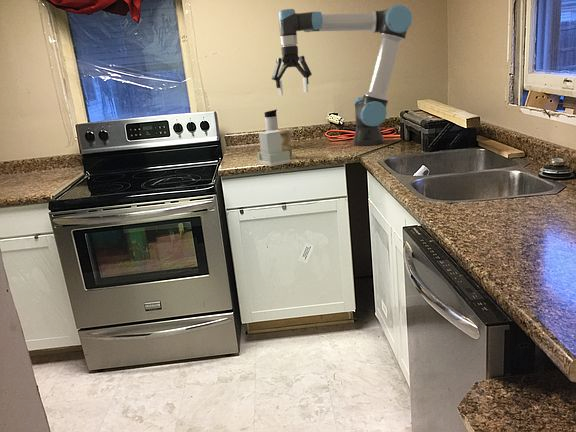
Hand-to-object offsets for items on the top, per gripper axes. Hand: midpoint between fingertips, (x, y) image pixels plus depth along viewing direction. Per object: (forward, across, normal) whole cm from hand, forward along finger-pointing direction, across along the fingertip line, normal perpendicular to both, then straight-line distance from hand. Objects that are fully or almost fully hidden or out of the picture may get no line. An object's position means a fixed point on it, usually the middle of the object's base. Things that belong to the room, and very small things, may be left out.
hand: (293, 93), depth 241 cm
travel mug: (+29, -2, -28) cm, 40 cm away
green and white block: (+29, +18, +8) cm, 35 cm away
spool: (+29, +8, +2) cm, 30 cm away
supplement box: (+27, +19, +7) cm, 34 cm away
